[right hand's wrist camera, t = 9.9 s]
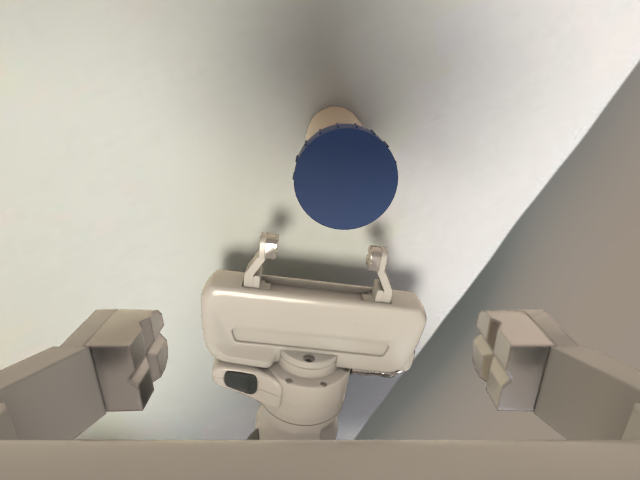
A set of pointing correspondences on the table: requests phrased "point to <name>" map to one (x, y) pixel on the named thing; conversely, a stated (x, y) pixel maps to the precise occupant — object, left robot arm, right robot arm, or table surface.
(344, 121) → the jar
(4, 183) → the table surface
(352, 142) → the lid
